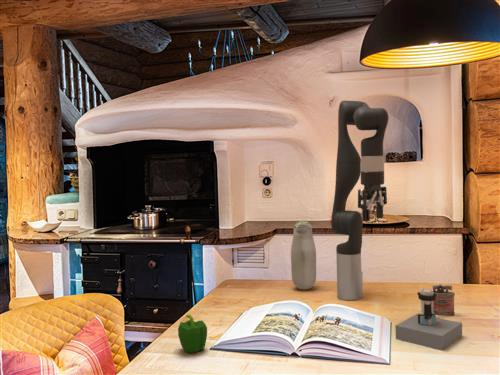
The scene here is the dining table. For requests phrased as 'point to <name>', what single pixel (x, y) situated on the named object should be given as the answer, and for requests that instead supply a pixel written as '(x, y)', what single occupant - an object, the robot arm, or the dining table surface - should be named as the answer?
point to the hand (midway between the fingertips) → (373, 219)
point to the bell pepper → (192, 335)
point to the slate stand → (429, 332)
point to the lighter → (443, 301)
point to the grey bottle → (303, 256)
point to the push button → (427, 307)
